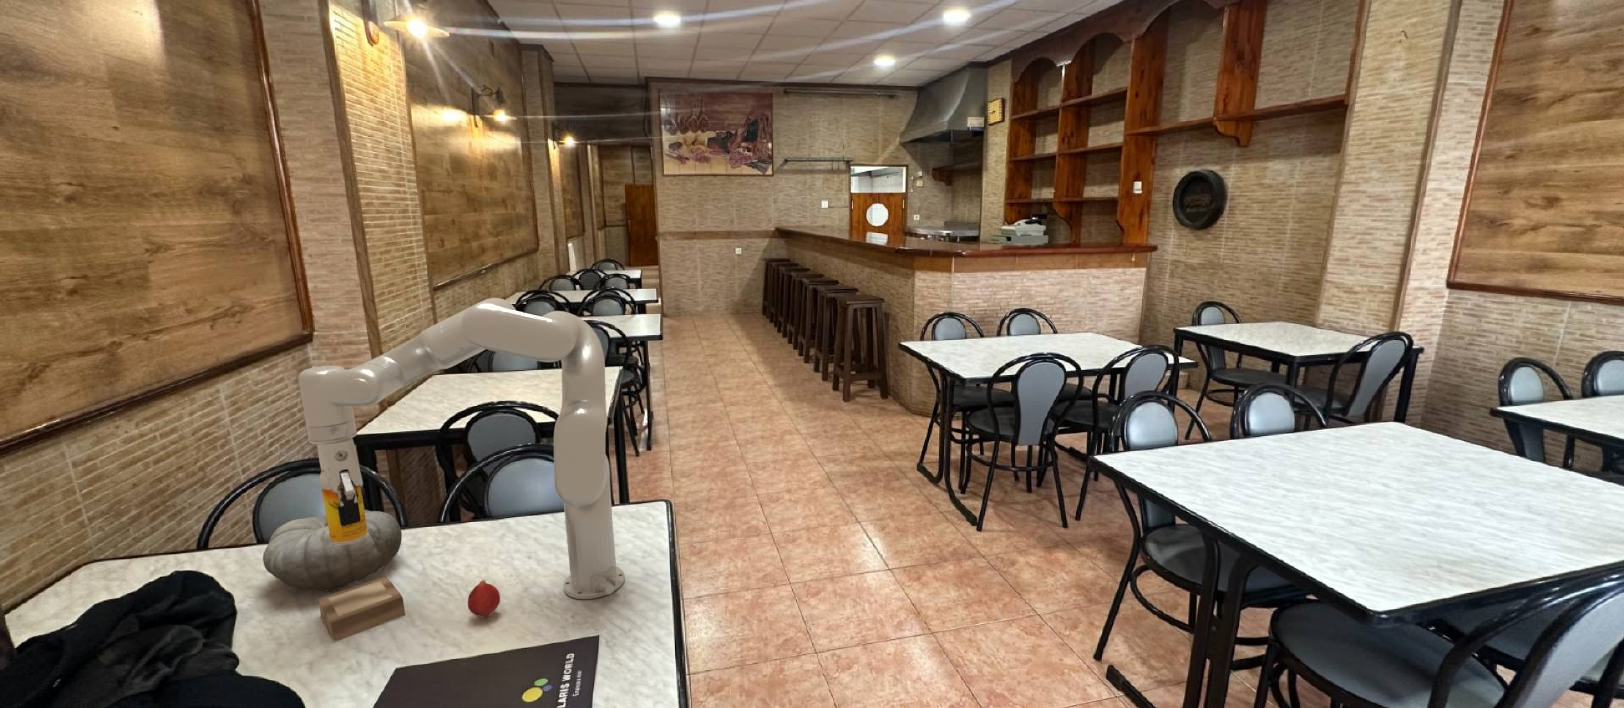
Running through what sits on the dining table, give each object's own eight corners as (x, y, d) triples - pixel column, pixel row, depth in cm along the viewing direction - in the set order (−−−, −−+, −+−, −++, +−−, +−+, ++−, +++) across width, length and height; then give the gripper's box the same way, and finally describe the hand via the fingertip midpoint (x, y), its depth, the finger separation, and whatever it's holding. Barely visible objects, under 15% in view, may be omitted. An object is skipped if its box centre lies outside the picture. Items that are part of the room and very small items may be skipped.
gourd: (333, 605, 134) (316, 522, 133) (239, 612, 140) (222, 532, 139) (430, 557, 158) (416, 486, 157) (346, 564, 164) (332, 496, 163)
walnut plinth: (405, 614, 135) (402, 596, 134) (334, 641, 127) (331, 622, 126) (388, 592, 143) (385, 575, 142) (321, 616, 135) (317, 598, 134)
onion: (470, 628, 130) (465, 591, 128) (469, 613, 135) (465, 577, 133) (502, 619, 133) (498, 583, 131) (501, 605, 138) (496, 570, 136)
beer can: (349, 547, 128) (337, 474, 125) (323, 544, 129) (310, 472, 126) (375, 533, 134) (364, 462, 131) (350, 530, 135) (338, 460, 132)
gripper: (366, 435, 124) (380, 525, 127) (344, 417, 136) (358, 500, 139) (317, 445, 119) (333, 538, 122) (299, 426, 130) (314, 511, 134)
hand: (346, 517), depth 131 cm, fingers closed on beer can, 6 cm apart
